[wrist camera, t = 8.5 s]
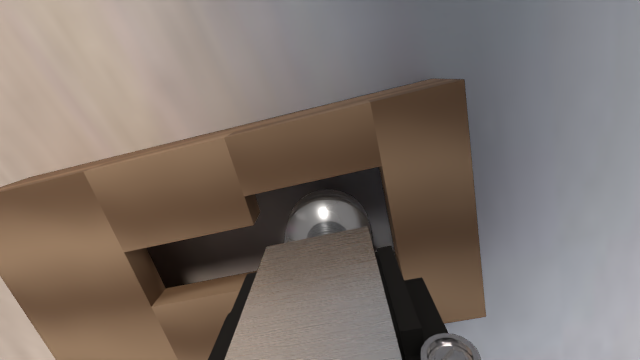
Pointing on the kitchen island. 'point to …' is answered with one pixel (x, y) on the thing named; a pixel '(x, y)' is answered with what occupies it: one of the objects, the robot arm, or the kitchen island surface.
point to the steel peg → (318, 290)
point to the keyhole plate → (233, 219)
